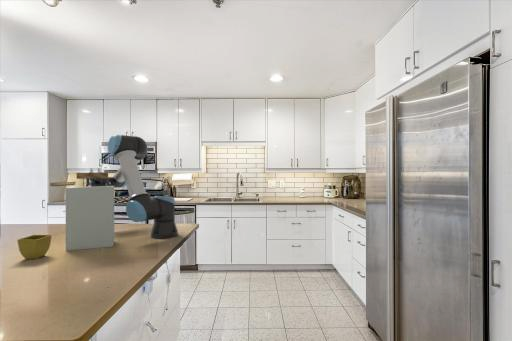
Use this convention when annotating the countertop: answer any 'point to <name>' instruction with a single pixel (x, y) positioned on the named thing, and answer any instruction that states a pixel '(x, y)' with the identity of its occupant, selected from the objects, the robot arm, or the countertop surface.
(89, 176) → the T-bar
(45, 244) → the flower pot
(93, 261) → the countertop surface
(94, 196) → the stand
